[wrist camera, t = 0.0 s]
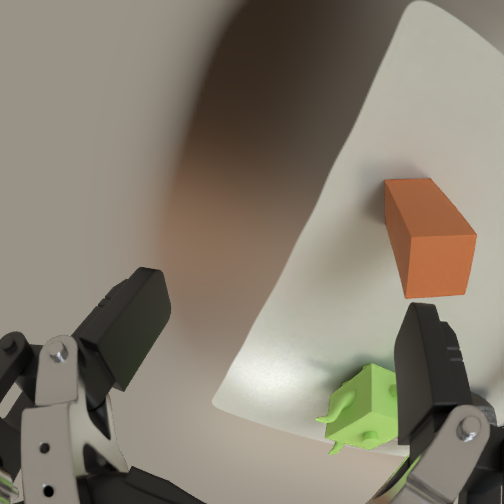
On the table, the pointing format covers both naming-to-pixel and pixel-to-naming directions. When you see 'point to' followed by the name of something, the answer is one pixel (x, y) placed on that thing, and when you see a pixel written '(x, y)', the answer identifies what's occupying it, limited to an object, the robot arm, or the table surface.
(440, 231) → the carton
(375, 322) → the table surface
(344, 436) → the kettle
